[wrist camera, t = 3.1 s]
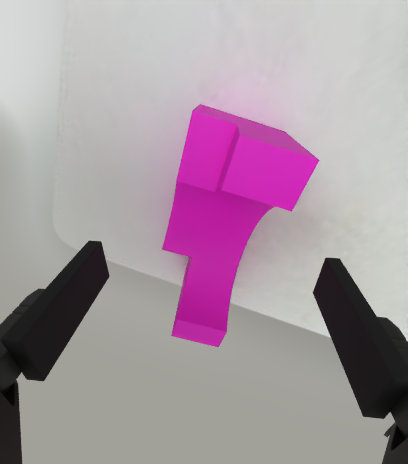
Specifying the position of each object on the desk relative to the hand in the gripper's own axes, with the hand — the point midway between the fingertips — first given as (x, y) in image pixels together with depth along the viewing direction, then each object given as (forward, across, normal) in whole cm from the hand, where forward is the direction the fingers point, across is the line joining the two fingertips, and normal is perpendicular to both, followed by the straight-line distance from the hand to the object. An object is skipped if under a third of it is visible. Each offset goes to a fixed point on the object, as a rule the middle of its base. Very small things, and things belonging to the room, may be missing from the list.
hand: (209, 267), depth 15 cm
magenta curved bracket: (+8, 0, 0) cm, 8 cm away
